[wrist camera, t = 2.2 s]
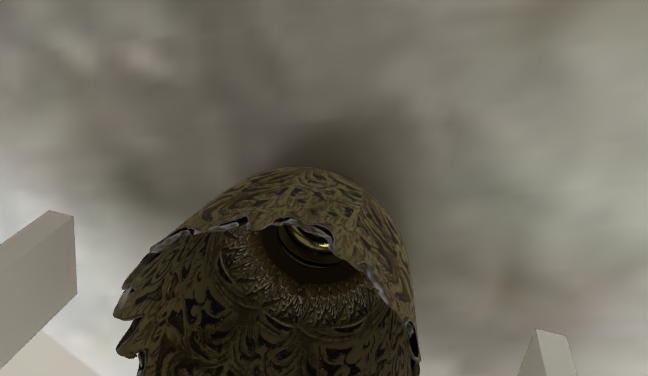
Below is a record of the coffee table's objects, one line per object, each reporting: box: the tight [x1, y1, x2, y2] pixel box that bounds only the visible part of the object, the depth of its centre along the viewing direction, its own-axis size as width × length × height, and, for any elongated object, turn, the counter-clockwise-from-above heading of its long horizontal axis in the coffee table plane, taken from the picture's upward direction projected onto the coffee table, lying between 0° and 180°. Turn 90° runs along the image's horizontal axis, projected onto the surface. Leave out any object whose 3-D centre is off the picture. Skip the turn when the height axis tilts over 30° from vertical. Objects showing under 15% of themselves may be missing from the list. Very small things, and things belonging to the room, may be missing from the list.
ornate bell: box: [113, 166, 421, 376], centre depth 17 cm, size 8×7×8 cm
